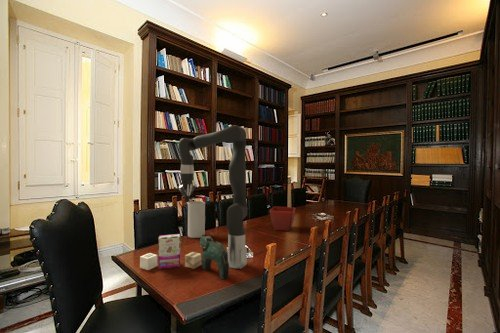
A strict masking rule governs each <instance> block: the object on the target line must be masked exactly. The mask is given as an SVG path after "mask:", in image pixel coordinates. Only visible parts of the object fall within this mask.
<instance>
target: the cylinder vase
mask: <svg viewBox="0 0 500 333" xmlns="http://www.w3.org/2000/svg"><path fill="white" fill-rule="evenodd" d="M205 224H206V202H205V201H201V200H200V201H199V200H197V201H196V200H195V201H189V202H187V236H188V237H189V238H190V239H191V238H192V239H200V238H201V237H202V235H204V236H206V234H205V233H206V231H205V228H206V226H205Z"/></svg>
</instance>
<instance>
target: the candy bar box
mask: <svg viewBox="0 0 500 333" xmlns="http://www.w3.org/2000/svg"><path fill="white" fill-rule="evenodd" d="M157 242H158V246H157V247H158V252H157V253H158V254H157V267H158V270H164V269H173V268H180V267H181V265H182V264H181V262H182V260H181V259H182V258H181V257H182V256H181V255H182V254H181V253H182V251H181V233H175V234H164V235H163V234H162V235H159V236H158V241H157Z"/></svg>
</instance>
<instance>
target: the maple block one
mask: <svg viewBox="0 0 500 333" xmlns="http://www.w3.org/2000/svg"><path fill="white" fill-rule="evenodd" d="M200 266H202V253H199V252H195V251H191V252H189V253H187V254H184V268H185V267H186V268H190V269H196V268H198V267H200Z"/></svg>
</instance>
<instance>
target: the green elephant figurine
mask: <svg viewBox="0 0 500 333" xmlns="http://www.w3.org/2000/svg"><path fill="white" fill-rule="evenodd" d="M211 234H212V236H213V237H214V236H215V235H214V233H213V232H210V234H209V235H202V237H200V238H199V247H200V248H201V250H202V253H201V269H202V270H204V271H207V270H210V269H211V268H212V261H214V262H216V265H217V266H218V271H219V279H221V280H226V279H228V278H229V273H230V272H229V269H230V267H229V262H228V251H227V250H226V248H225V246H224V245H223V243H221V242H220V241H214V239H213V238H212V236H211Z"/></svg>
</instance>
